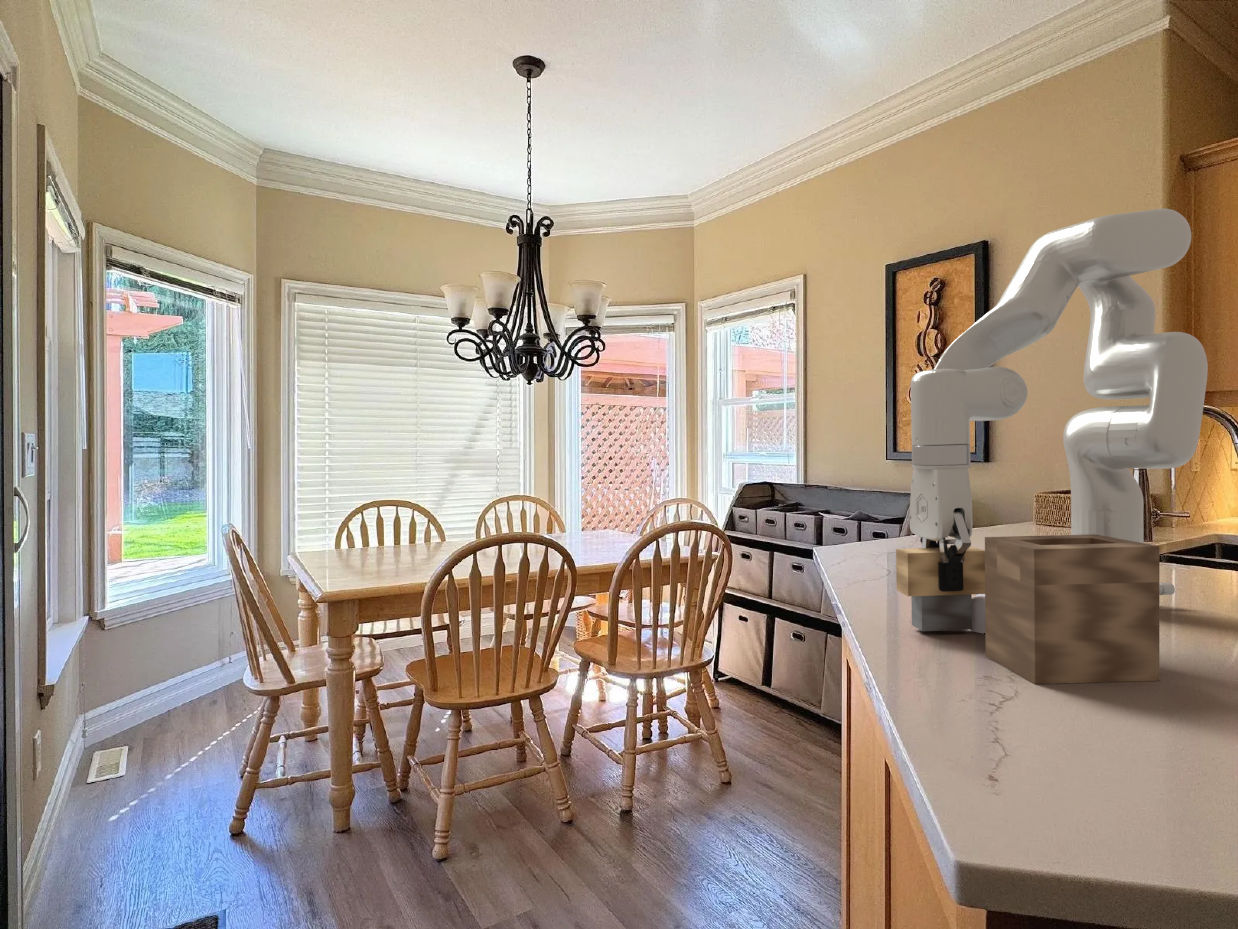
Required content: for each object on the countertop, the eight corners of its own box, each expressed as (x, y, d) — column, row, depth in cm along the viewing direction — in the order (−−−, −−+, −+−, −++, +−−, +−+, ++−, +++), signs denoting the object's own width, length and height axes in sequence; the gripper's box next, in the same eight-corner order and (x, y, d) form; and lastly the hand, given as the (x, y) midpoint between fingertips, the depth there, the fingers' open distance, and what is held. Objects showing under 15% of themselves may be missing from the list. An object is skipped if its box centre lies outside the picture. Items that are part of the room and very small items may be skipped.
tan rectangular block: (972, 622, 105) (971, 546, 104) (987, 629, 101) (986, 550, 100) (897, 624, 104) (896, 549, 104) (908, 632, 100) (907, 553, 100)
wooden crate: (1096, 653, 91) (1095, 534, 90) (1159, 680, 80) (1159, 546, 80) (985, 656, 91) (984, 537, 90) (1034, 684, 80) (1034, 549, 80)
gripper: (890, 457, 110) (893, 577, 111) (941, 460, 93) (944, 601, 94) (939, 455, 110) (941, 575, 111) (999, 458, 93) (1001, 599, 94)
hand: (942, 586), depth 102 cm, fingers closed on tan rectangular block, 4 cm apart
